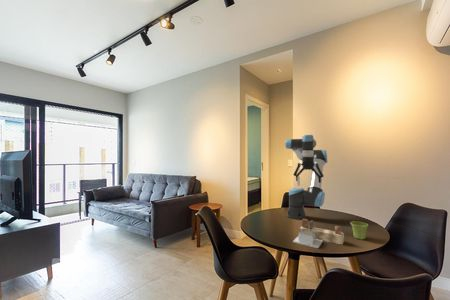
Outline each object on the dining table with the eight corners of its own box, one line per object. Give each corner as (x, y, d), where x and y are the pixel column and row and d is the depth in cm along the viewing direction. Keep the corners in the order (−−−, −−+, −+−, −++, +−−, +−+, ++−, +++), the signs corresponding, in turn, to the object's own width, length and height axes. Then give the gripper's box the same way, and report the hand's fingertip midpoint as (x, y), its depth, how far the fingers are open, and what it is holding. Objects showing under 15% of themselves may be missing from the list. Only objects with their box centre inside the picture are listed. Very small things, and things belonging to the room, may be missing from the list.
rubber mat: (292, 242, 129) (292, 241, 129) (298, 236, 138) (298, 235, 138) (318, 248, 120) (318, 247, 120) (322, 241, 129) (322, 240, 129)
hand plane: (299, 235, 139) (299, 219, 139) (302, 232, 144) (302, 217, 144) (342, 244, 125) (342, 227, 125) (343, 241, 130) (343, 224, 130)
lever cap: (303, 236, 135) (303, 227, 135) (316, 239, 130) (316, 230, 130) (298, 241, 128) (298, 231, 128) (312, 245, 123) (312, 234, 123)
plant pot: (347, 235, 140) (347, 221, 140) (361, 234, 141) (361, 221, 141) (357, 241, 130) (357, 226, 131) (372, 240, 131) (372, 225, 131)
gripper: (288, 156, 160) (289, 185, 160) (325, 156, 146) (326, 188, 145) (292, 156, 166) (292, 184, 166) (328, 156, 152) (328, 187, 151)
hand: (308, 186), depth 156 cm, fingers open, 13 cm apart
